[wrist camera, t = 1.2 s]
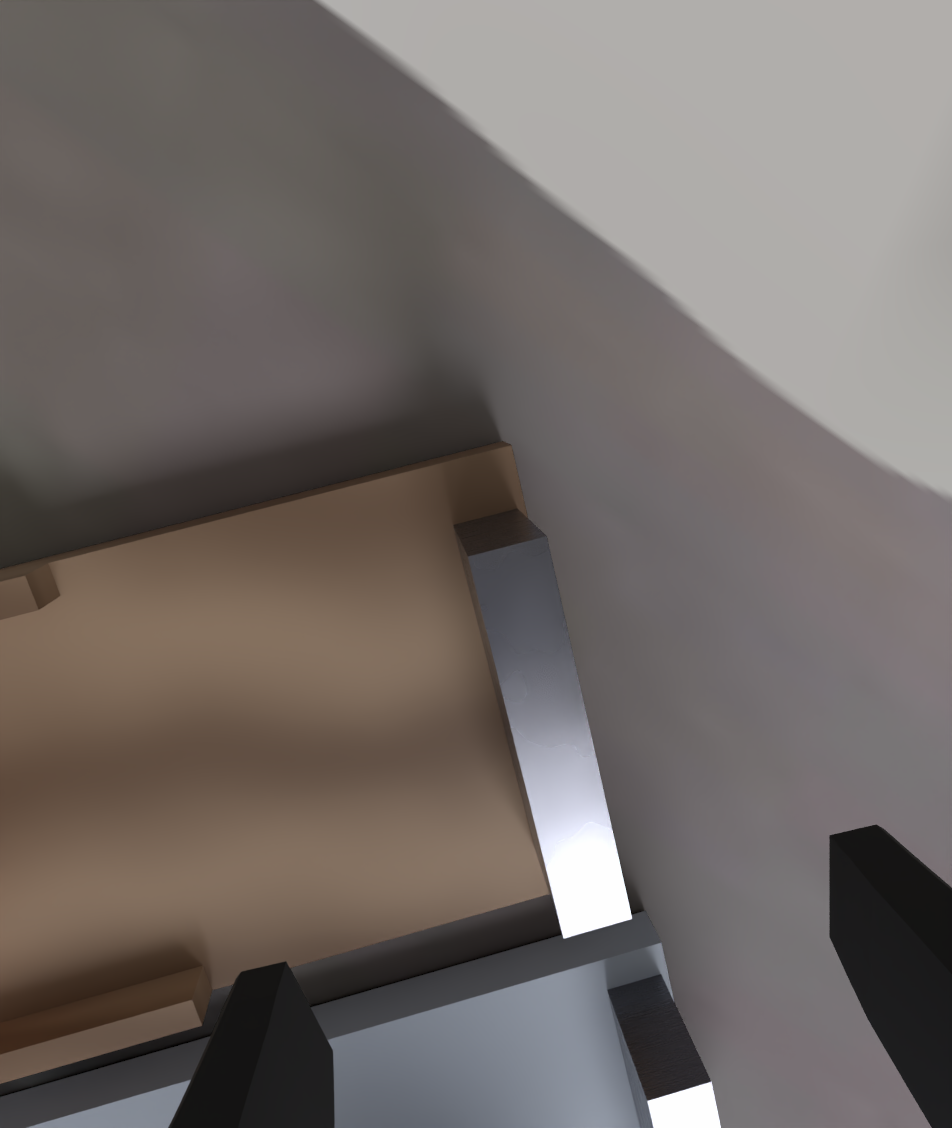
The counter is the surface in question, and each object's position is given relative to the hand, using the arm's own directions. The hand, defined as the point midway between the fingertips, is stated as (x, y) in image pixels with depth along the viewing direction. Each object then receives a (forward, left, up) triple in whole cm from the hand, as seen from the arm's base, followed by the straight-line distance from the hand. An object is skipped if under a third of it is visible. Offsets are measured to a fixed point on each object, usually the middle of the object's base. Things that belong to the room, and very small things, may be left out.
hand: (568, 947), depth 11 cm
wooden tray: (-1, +9, -11) cm, 14 cm away
